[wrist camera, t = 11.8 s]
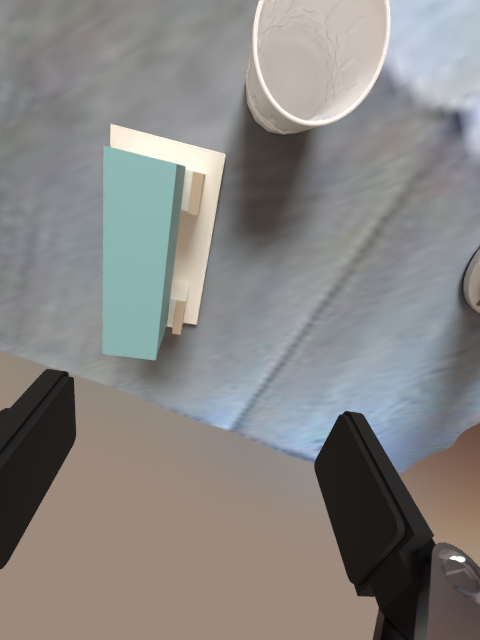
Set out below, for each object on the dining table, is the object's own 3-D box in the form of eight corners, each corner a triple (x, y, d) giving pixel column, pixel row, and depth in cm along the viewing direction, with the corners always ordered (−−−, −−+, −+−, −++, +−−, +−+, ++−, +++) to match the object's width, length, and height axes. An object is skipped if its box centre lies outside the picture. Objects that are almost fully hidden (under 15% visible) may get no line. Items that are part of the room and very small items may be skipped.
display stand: (225, 154, 27) (229, 148, 20) (196, 320, 34) (193, 354, 28) (114, 125, 25) (80, 108, 18) (111, 307, 33) (86, 339, 26)
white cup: (340, 109, 26) (406, 75, 17) (265, 160, 27) (290, 152, 18) (304, 3, 22) (364, -109, 13) (221, 67, 24) (225, 3, 15)
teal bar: (185, 166, 21) (176, 163, 16) (166, 324, 28) (155, 360, 22) (131, 152, 21) (103, 145, 16) (124, 318, 27) (102, 353, 22)
